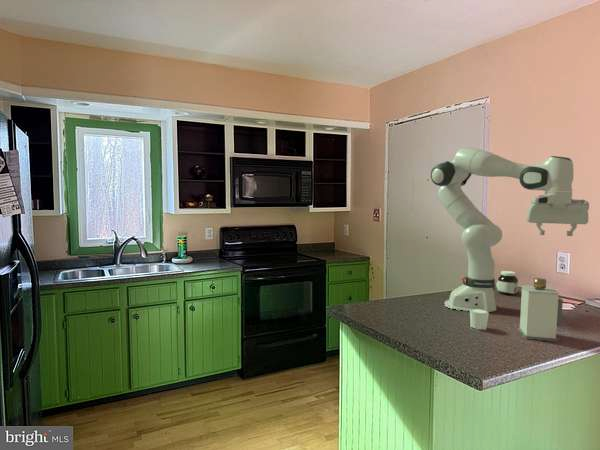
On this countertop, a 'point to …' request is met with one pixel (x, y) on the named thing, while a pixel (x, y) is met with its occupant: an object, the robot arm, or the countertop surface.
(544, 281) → the plunger
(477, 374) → the countertop surface
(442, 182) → the robot arm
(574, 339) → the countertop surface
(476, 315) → the shot glass
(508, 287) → the spread jar
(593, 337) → the countertop surface
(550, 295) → the block
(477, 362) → the countertop surface
